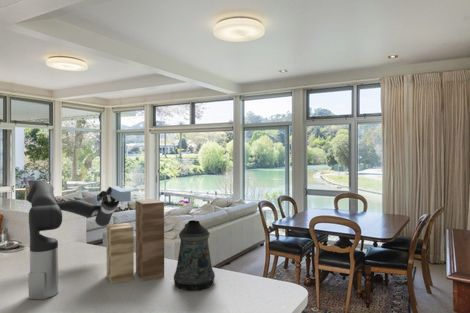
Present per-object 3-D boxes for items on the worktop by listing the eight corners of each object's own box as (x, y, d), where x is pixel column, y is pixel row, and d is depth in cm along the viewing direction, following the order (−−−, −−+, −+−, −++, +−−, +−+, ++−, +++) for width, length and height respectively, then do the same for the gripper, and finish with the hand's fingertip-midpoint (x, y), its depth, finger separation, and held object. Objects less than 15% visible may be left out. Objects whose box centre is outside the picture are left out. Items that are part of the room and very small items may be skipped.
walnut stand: (164, 276, 144) (164, 202, 144) (143, 280, 139) (143, 203, 139) (155, 268, 154) (155, 198, 154) (135, 272, 150) (135, 200, 149)
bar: (130, 201, 134) (130, 191, 134) (120, 201, 132) (120, 191, 132) (117, 194, 155) (117, 185, 155) (108, 195, 153) (108, 186, 153)
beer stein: (194, 295, 125) (194, 228, 125) (160, 283, 137) (160, 222, 136) (223, 281, 138) (222, 221, 138) (189, 271, 150) (189, 215, 150)
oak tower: (133, 279, 141) (133, 226, 141) (111, 283, 136) (111, 229, 136) (128, 271, 150) (127, 222, 149) (106, 275, 145) (106, 225, 145)
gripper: (93, 197, 159) (98, 181, 146) (123, 195, 166) (131, 180, 153) (94, 212, 156) (99, 197, 143) (125, 209, 163) (133, 195, 150)
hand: (116, 188), depth 148 cm, fingers closed on bar, 4 cm apart
